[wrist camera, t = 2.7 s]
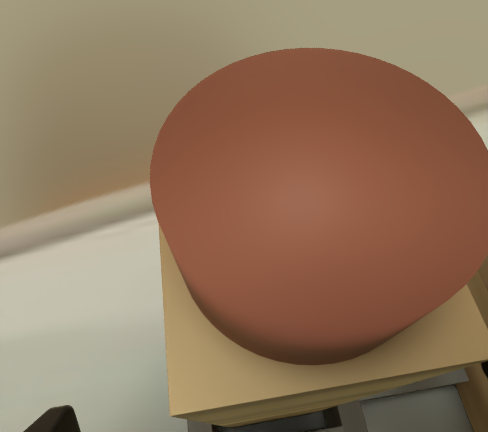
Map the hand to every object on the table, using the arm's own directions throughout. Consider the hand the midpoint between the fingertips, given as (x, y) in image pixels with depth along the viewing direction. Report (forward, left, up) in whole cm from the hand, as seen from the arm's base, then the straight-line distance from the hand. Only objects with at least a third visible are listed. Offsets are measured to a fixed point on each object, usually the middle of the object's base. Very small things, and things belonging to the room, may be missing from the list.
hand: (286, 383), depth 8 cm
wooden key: (+1, +1, -9) cm, 9 cm away
